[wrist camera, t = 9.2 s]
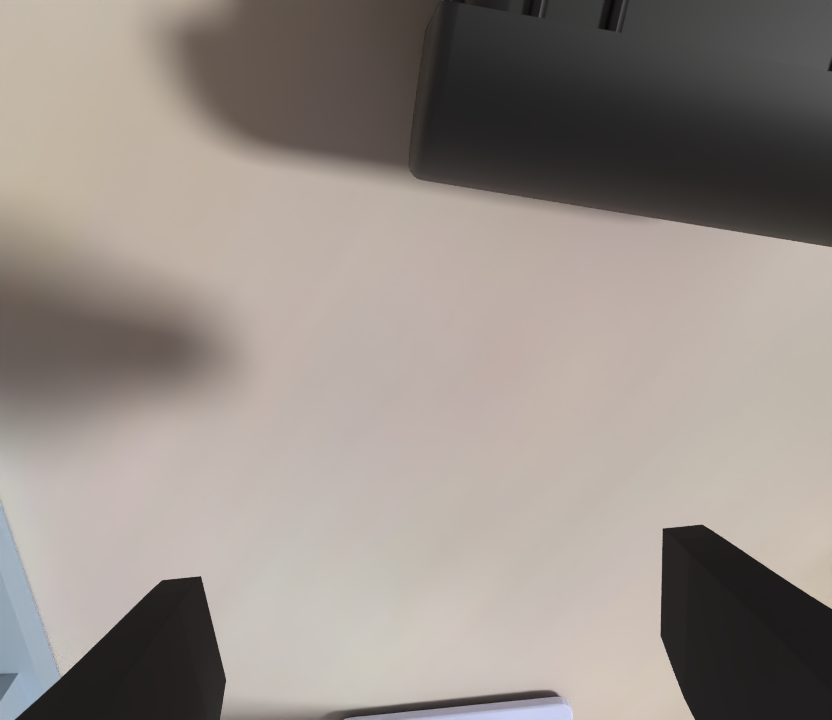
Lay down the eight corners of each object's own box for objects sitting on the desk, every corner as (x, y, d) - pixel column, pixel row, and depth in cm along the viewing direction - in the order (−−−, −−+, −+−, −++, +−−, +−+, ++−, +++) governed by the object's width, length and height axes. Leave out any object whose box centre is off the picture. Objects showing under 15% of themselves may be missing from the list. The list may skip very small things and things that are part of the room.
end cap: (404, 162, 19) (409, 196, 12) (452, -159, 16) (490, -322, 10) (770, 222, 19) (953, 284, 13) (867, -74, 17) (1147, -176, 11)
